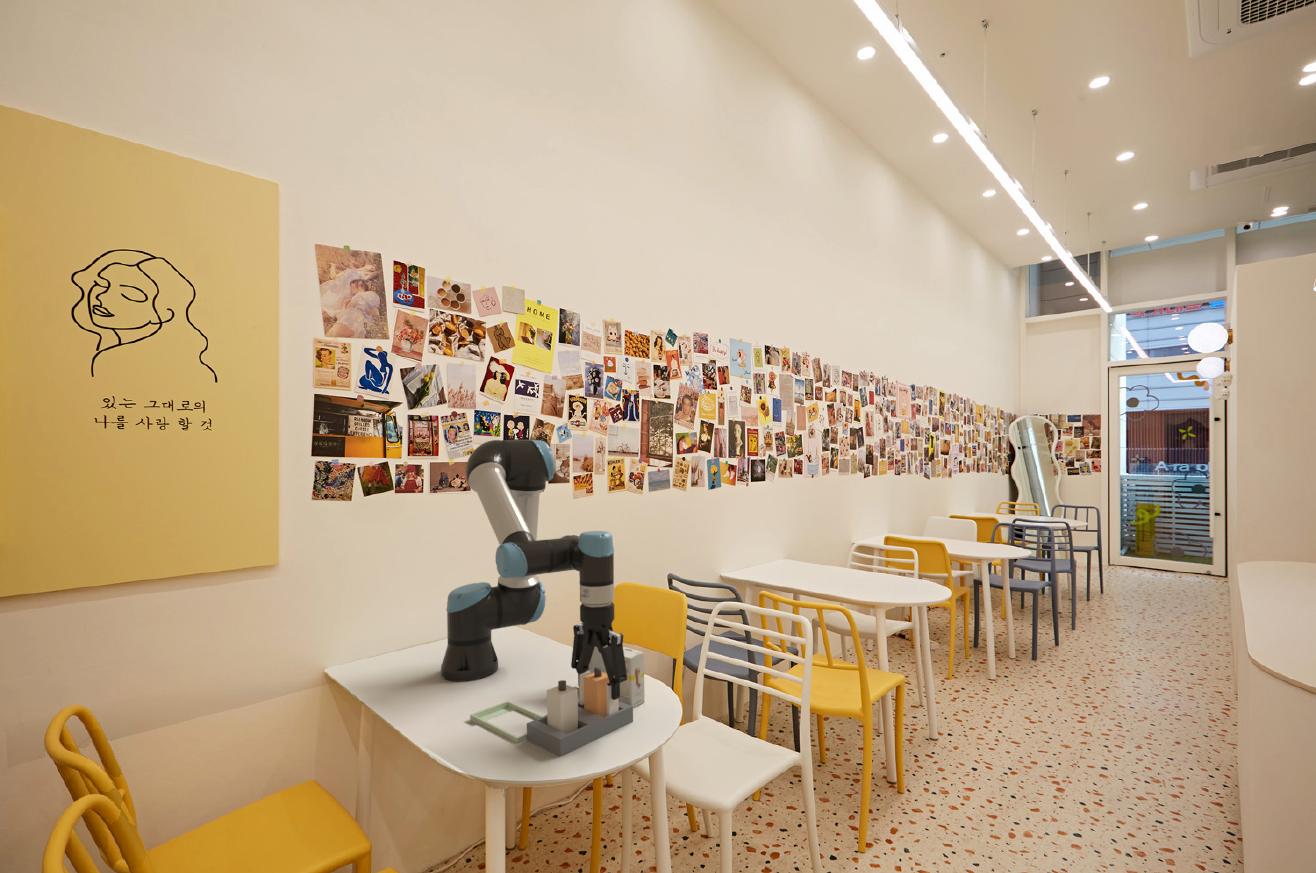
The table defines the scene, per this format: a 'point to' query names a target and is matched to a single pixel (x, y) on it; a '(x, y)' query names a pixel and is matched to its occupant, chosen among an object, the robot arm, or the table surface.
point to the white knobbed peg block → (562, 708)
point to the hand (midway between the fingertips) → (598, 707)
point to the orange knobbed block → (596, 692)
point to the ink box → (633, 678)
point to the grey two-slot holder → (587, 730)
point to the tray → (497, 711)
